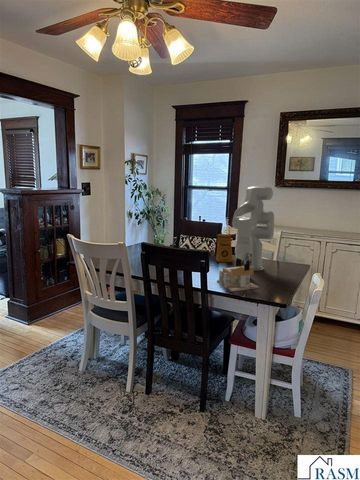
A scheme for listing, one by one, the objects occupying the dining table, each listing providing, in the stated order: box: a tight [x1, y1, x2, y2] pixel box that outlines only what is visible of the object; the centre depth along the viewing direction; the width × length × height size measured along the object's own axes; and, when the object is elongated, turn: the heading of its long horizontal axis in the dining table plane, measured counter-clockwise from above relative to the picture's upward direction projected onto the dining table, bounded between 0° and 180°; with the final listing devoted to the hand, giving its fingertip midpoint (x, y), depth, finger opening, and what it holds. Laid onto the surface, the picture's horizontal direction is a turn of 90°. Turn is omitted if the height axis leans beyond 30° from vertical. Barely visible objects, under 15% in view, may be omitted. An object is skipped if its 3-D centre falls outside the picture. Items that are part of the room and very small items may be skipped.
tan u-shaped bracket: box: [222, 266, 255, 276], centre depth 200 cm, size 12×14×4 cm
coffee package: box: [215, 233, 233, 263], centre depth 257 cm, size 10×12×22 cm
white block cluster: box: [216, 266, 259, 292], centre depth 201 cm, size 19×18×9 cm
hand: (242, 268), depth 195 cm, fingers open, 9 cm apart
